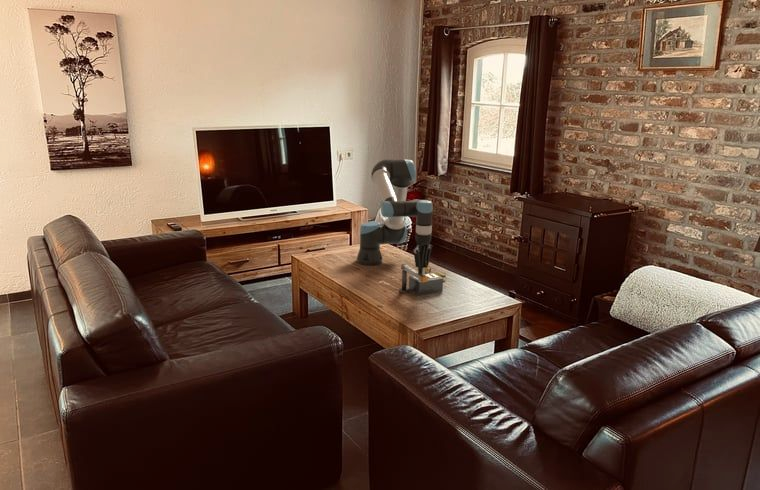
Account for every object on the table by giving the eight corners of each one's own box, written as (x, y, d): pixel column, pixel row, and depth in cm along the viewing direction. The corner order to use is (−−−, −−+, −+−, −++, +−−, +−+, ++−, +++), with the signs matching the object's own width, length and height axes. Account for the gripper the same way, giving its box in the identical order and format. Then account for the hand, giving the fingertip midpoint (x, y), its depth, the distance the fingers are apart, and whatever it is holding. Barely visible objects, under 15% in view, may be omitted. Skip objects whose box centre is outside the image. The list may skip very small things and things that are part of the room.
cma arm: (406, 267, 294) (406, 263, 293) (428, 281, 274) (428, 276, 273) (399, 268, 292) (400, 264, 292) (421, 282, 273) (421, 277, 272)
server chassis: (408, 289, 298) (409, 275, 296) (431, 285, 305) (432, 271, 302) (418, 295, 290) (419, 281, 288) (442, 291, 296) (443, 277, 294)
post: (397, 290, 296) (397, 269, 293) (405, 289, 298) (406, 268, 295) (402, 293, 291) (402, 272, 288) (410, 292, 294) (411, 271, 291)
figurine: (445, 281, 310) (427, 260, 308) (431, 291, 312) (413, 270, 310) (446, 274, 321) (428, 253, 320) (433, 284, 324) (415, 264, 322)
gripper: (425, 229, 284) (423, 275, 290) (408, 234, 275) (407, 281, 281) (437, 232, 279) (435, 278, 286) (421, 237, 270) (419, 285, 276)
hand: (421, 279), depth 283 cm, fingers closed
